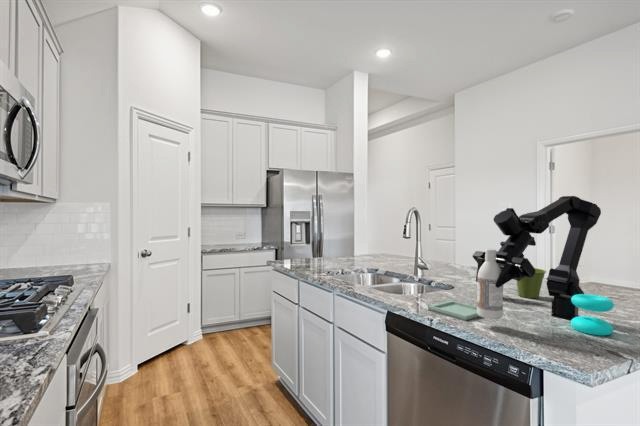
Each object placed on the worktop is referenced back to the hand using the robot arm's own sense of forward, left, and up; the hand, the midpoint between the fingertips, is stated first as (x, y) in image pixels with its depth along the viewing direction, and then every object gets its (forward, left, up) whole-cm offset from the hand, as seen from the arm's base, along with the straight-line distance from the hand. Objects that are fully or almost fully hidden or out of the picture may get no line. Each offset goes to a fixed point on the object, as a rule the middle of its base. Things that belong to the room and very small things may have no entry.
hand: (486, 284), depth 107 cm
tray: (+14, -7, -13) cm, 20 cm away
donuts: (-19, -23, -13) cm, 33 cm away
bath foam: (0, -1, -10) cm, 10 cm away
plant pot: (+11, -53, -13) cm, 56 cm away
